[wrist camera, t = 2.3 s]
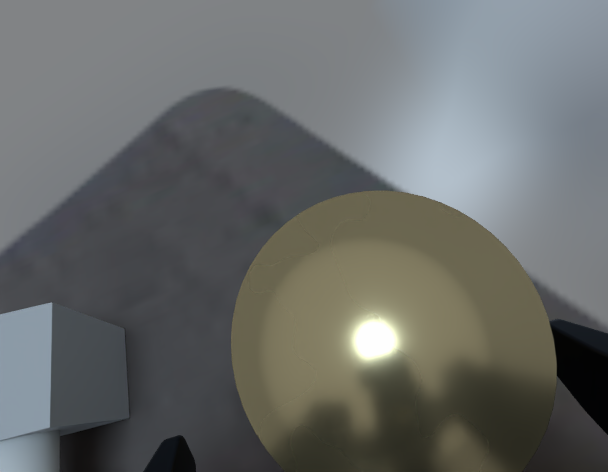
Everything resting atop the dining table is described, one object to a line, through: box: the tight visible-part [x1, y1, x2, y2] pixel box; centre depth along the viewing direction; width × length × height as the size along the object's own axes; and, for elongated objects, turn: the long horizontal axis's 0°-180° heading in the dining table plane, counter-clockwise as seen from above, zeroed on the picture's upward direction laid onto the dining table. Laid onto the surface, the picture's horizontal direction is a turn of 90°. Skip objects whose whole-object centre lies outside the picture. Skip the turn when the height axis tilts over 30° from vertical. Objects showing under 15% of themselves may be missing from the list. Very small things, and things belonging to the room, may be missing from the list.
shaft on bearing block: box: [0, 302, 130, 472], centre depth 14 cm, size 8×4×6 cm, turn 14°
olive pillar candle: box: [231, 191, 557, 472], centre depth 11 cm, size 5×5×12 cm
